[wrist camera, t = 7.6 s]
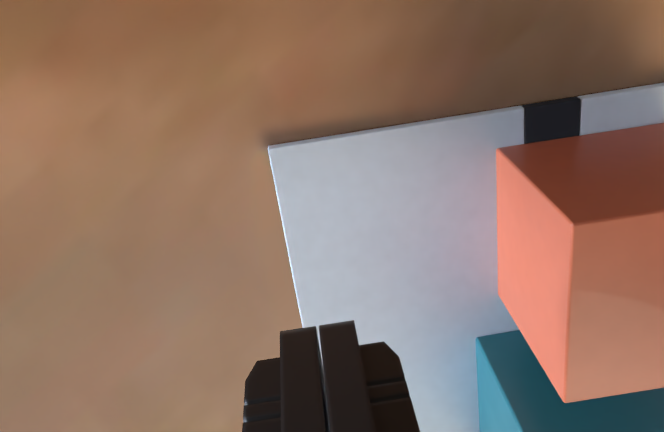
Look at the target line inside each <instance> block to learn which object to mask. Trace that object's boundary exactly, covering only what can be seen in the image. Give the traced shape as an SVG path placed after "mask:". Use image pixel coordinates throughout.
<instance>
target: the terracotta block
mask: <svg viewBox="0 0 664 432" xmlns="http://www.w3.org/2000/svg"><path fill="white" fill-rule="evenodd" d="M496 184H497V259H498V295H499V297H500V299H501V300H502V302H503V303H504V305H505V307H506V308H507V310H508V312H509V313H510V315H511V317H512V318H513V320H514V322H515V323H516V325H517V327H518V328H519V330H520V332H521V333H522V335H523V336H524V338H525V340H526V341H527V343H528V345H529V346H530V348H531V350H532V351H533V353H534V355H535V356H536V358H537V360H538V361H539V363H540V365H541V366H542V368H543V369H544V371H545V373H546V374H547V376H548V378H549V379H550V381H551V383H552V384H553V386H554V388H555V389H556V391H557V393H558V394H559V396H560V398H561V399H562V401H563V402H564V403H570V402H577V401H583V400H589V399H596V398H602V397H608V396H614V395H621V394H627V393H633V392H639V391H646V390H652V389H658V388H664V123H660V124H653V125H646V126H640V127H633V128H627V129H620V130H613V131H607V132H600V133H593V134H587V135H580V136H574V137H567V138H560V139H554V140H547V141H541V142H534V143H527V144H521V145H514V146H508V147H501V148H497V149H496Z"/></svg>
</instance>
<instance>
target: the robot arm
mask: <svg viewBox="0 0 664 432" xmlns="http://www.w3.org/2000/svg"><path fill="white" fill-rule="evenodd" d="M319 333H320V343H321V352H322V358H321V352H320V346H319V340H318V334H317V329H316V326H312V327H306V328H299V329H293V330H286V331H280V358H273V359H267V360H260V361H257V362H256V364H255V366H254V367H253V369H252V371H251V372H250V374H249V376H248V377H247V379H246V381H245V397H244V403H245V406H244V413H243V422H244V423H243V428H242V432H420V430H419V426H418V422H417V419H416V415H415V412H414V408H413V404H412V401H411V397H410V395H409V390H408V387H407V383H406V381H405V376H404V372H403V369H402V365H401V362H400V358H399V356H398V355H397V354H396V353H395V352H394V351H393V350H392V349H391V348H390V347H389V346H388V345H387V344H386V343H385V342H384V341H383V342H377V343H370V344H364V345H359V343H358V338H357V333H356V328H355V323H354V320H351V321H344V322H338V323H331V324H325V325H319ZM322 362H323V364H322Z"/></svg>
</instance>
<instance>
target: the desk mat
mask: <svg viewBox="0 0 664 432" xmlns="http://www.w3.org/2000/svg"><path fill="white" fill-rule="evenodd" d="M660 123H664V83H658V84H652V85H645V86H639V87H633V88H627V89H620V90H614V91H608V92H602V93H595V94H589V95H583V96H578V97H570V98H564V99H558V100H552V101H545V102H539V103H533V104H527V105H522V106H514V107H508V108H502V109H495V110H489V111H483V112H477V113H470V114H464V115H458V116H452V117H445V118H439V119H433V120H427V121H420V122H414V123H408V124H402V125H395V126H389V127H383V128H377V129H370V130H364V131H358V132H352V133H345V134H339V135H333V136H327V137H320V138H314V139H308V140H302V141H295V142H289V143H283V144H277V145H270V146H268V152H269V157H270V162H271V168H272V173H273V178H274V183H275V188H276V193H277V198H278V203H279V208H280V214H281V219H282V224H283V229H284V234H285V239H286V244H287V249H288V255H289V260H290V265H291V270H292V275H293V280H294V285H295V290H296V295H297V301H298V306H299V311H300V316H301V321H302V326H303V328H306V327H312V326H316V329H317V334H318V340H319V346H320V352H321V343H320V333H319V325H325V324H331V323H338V322H344V321H351V320H354V323H355V328H356V333H357V338H358V343H359V345H364V344H370V343H377V342H383V341H384V342H385V343H386V344H387V345H388V346H389V347H390V348H391V349H392V350H393V351H394V352H395V353H396V354H397V355H398V356H399V358H400V362H401V365H402V369H403V372H404V376H405V381H406V383H407V387H408V390H409V395H410V397H411V401H412V404H413V408H414V412H415V415H416V419H417V422H418V426H419V430H420V432H480V429H479V407H478V385H477V363H476V341H475V340H476V337H480V336H486V335H492V334H498V333H504V332H510V331H516V330H519V328H518V327H517V325H516V323H515V322H514V320H513V318H512V317H511V315H510V313H509V312H508V310H507V308H506V307H505V305H504V303H503V302H502V300H501V299H500V297H499V295H498V259H497V184H496V149H497V148H501V147H508V146H514V145H521V144H527V143H534V142H541V141H547V140H554V139H560V138H567V137H574V136H580V135H587V134H593V133H600V132H607V131H613V130H620V129H627V128H633V127H640V126H646V125H653V124H660ZM321 358H322V352H321ZM322 364H323V362H322Z"/></svg>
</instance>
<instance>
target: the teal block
mask: <svg viewBox="0 0 664 432" xmlns="http://www.w3.org/2000/svg"><path fill="white" fill-rule="evenodd" d="M475 341H476V363H477V385H478V407H479V429H480V432H664V388H658V389H652V390H646V391H639V392H633V393H627V394H621V395H614V396H608V397H602V398H596V399H589V400H583V401H577V402H570V403H564V402H563V401H562V399H561V398H560V396H559V394H558V393H557V391H556V389H555V388H554V386H553V384H552V383H551V381H550V379H549V378H548V376H547V374H546V373H545V371H544V369H543V368H542V366H541V365H540V363H539V361H538V360H537V358H536V356H535V355H534V353H533V351H532V350H531V348H530V346H529V345H528V343H527V341H526V340H525V338H524V336H523V335H522V333H521V332H520V330H516V331H510V332H504V333H498V334H492V335H486V336H480V337H476V340H475Z"/></svg>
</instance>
